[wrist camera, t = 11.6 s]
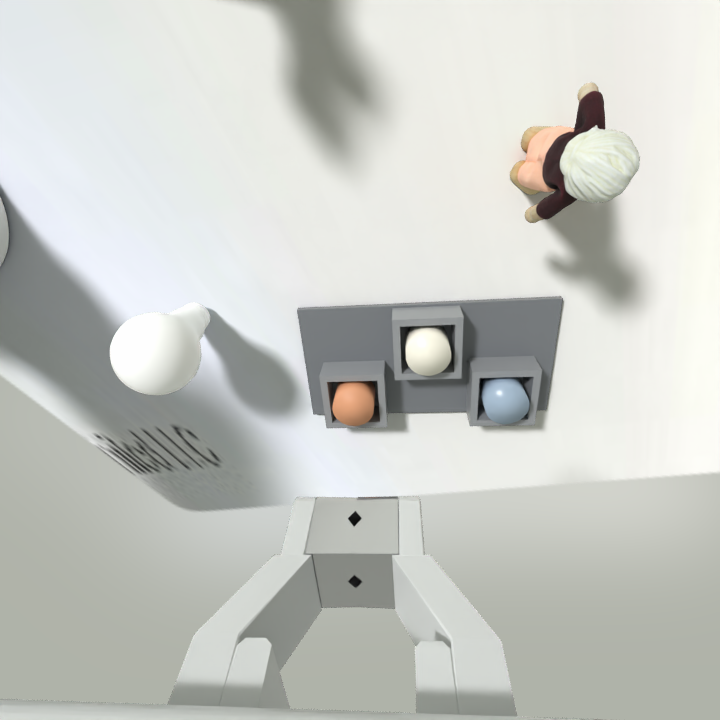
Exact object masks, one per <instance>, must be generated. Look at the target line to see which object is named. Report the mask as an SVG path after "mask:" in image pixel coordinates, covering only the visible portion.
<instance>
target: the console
mask: <svg viewBox="0 0 720 720" xmlns="http://www.w3.org/2000/svg"><path fill="white" fill-rule="evenodd" d="M562 301H563V298H562V297H561V296H559V297H536V298H514V299H491V300H468V301H446V302H423V303H401V304H378V305H355V306H333V307H310V308H298V310H297V312H298V319H299V325H300V332H301V338H302V344H303V351H304V357H305V364H306V370H307V376H308V383H309V389H310V396H311V402H312V408H313V414H325V420H326V427H327V428H373V427H387V417H388V413H418V412H467V416H468V420H469V425H470V426H509V425H535V419H536V411H537V410H546V408H547V401H548V394H549V388H550V381H551V374H552V367H553V361H554V354H555V347H556V341H557V334H558V327H559V321H560V314H561V307H562ZM431 325H441V326H442V327H443V328H444V329H445V331H446V333H447V336H448V341H449V345H450V350H451V361H450V363H449V365H448V366H447V368H446V369H445V370H443V371H442V372H440V373H438V374H436V375H432V376H424V375H420V374H417V373H415V372H414V371H413V370H411V369H410V367H409V366H408V364H407V361H406V347H405V338H406V334H407V332H408V330H409V329H410V328H411V327H412V326H431ZM500 377H518V378H519V380H520V382H521V384H522V386H523V388H524V390H525V393H526V395H527V397H528V399H529V404H530V405H529V410H528V412H527V414H526V415H525V416H524V417H523V418H522V419H520V420H519V421H517V422H514V423H511V424H500V423H496V422H494V421H492V420H491V419H490V418H489V417H488V416H487V414H486V411H485V408H484V405H483V401H482V398H481V394H480V389H479V388H480V383H481V381H482V380H483V378H500ZM346 381H372V383H373V384H374V387H375V402H374V412H373V416H372V418H371V419H370V420H369V421H368V422H367V423H365V424H363V425H360V426H349V425H346V424H343V423H341V422H340V421H339V420H338V419H337V418H336V417H335V416H334V413H333V410H332V407H333V402H334V397H335V393H336V389H337V385H338V383H339V382H346Z"/></svg>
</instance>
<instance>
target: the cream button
mask: <svg viewBox="0 0 720 720" xmlns="http://www.w3.org/2000/svg"><path fill="white" fill-rule="evenodd" d="M405 347H406V361H407V364H408V366H409V367H410V369H411V370H413V371H414V372H415V373H417V374H420V375H424V376H432V375H436V374H438V373H440V372H442V371H443V370H445V369H446V368H447V366H448V365H449V363H450V361H451V350H450V345H449V341H448V336H447V333H446V331H445V329H444V328H443V327H442V326H441V325H431V326H412V327H411V328H410V329H409V330H408V332H407V334H406V338H405Z"/></svg>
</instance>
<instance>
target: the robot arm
mask: <svg viewBox="0 0 720 720" xmlns="http://www.w3.org/2000/svg"><path fill="white" fill-rule="evenodd" d="M8 244H9V227H8V220H7V216H6V212H5V208H4V205H3V202H2V200H1V197H0V266H1V264H2V263H3V261H4V259H5V256H6V253H7V250H8ZM398 506H399V508H398ZM330 607H331V608H337V607H367V608H389V609H395V611H396V613H397V614H398V616H399V618H400V620H401V622H402V623H403V625H404V627H405V628H406V630H407V632H408V634H409V636H410V637H411V639H412V641H413V643H414V644H415V646H416V647H415V674H416V713H399V712H396V713H395V712H370V711H341V710H312V709H311V710H310V709H290V706H289V703H288V700H287V696H286V692H285V689H284V686H283V682H282V679H281V675H280V670H281V669H282V667H283V666H284V664H285V663H286V662H287V660H288V659H289V657H290V656H291V654H292V653H293V651H294V650H295V648H296V647H297V645H298V644H299V643H300V641H301V640H302V638H303V637H304V635H305V634H306V632H307V631H308V629H309V628H310V626H311V625H312V623H313V622H314V621H315V619H316V618H317V616H318V615H319V613H320V612H321V608H330ZM0 720H599V719H569V718H541V717H517V713H516V708H515V704H514V698H513V694H512V689H511V684H510V680H509V675H508V670H507V666H506V661H505V656H504V652H503V647H502V642H501V640H500V639H499V638H498V636H497V635H496V634H495V633H494V632H493V630H492V629H491V628H490V627H489V625H488V624H487V623H486V622H485V620H484V619H483V618H482V617H481V616H480V615H479V613H478V612H477V611H476V610H475V608H474V607H473V606H472V605H471V603H470V602H469V601H468V600H467V598H466V597H465V596H464V595H463V593H462V592H461V591H460V590H459V589H458V587H457V586H456V585H455V584H454V582H453V581H452V580H451V579H450V577H449V576H448V575H447V574H446V573H445V571H444V570H443V569H442V568H441V566H440V565H439V564H438V563H437V561H436V560H435V559H434V558H433V557H432V556H431V555H425V551H424V538H423V526H422V515H421V502H420V497H419V496H401V497H358V498H346V497H297V498H296V499H295V501H294V503H293V507H292V511H291V515H290V519H289V523H288V527H287V531H286V535H285V539H284V543H283V547H282V551H281V554H277V555H273V556H272V557H271V558H270V560H268V561H267V563H265V564H264V566H263V567H261V569H260V570H258V571H257V572H256V573H255V574H254V575H253V576H252V577H251V578H250V579H249V581H247V583H245V584H244V585H243V586H242V587H241V588H240V589H239V590H238V591H237V592H236V593H235V594H234V595H233V596H232V597H231V598H230V599H229V600H228V601H227V602H226V603H225V604H224V605H223V606H222V607H221V608H220V609H219V610H218V611H217V612H216V613H215V614H214V615H213V616H212V617H211V618H210V619H209V620H208V621H207V622H206V623H205V624H204V625H203V626H202V627H201V628H200V629H199V630H198V631H197V632H196V633H195V634H194V637H193V639H192V642H191V644H190V647H189V650H188V652H187V655H186V657H185V660H184V663H183V665H182V668H181V671H180V673H179V676H178V678H177V681H176V683H175V686H174V689H173V691H172V694H171V696H170V699H169V702H168V704H167V705H165V704H135V703H106V702H76V701H48V700H18V699H0Z"/></svg>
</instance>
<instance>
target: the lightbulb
mask: <svg viewBox="0 0 720 720" xmlns="http://www.w3.org/2000/svg"><path fill="white" fill-rule="evenodd" d="M209 322H210V314H209V312H208V310H207V309H206V308H205V307H204V306H203V305H201V304H198V303H188V304H187V305H185V306H183V307H182V308H180V309H176V310H174V311H172V312H171V313H169V314H167V313H158V312H152V313H145V314H141V315H138V316H135V317H133V318H131V319H129V320H128V321H127V322H125V323H124V324H123V325H122V326H121V327H120V328H119V329H118V331H117V332H116V334H115V335H114V337H113V340H112V343H111V346H110V360H111V365H112V367H113V370H114V372H115V373H116V375H117V377H118V378H119V379H120V380H121V382H123V383H124V384H125V385H126V386H127V387H129V388H130V389H132V390H134V391H137V392H140V393H143V394H147V395H165V394H170V393H172V392H175V391H177V390H179V389H181V388H182V387H184V386H185V385H186V384H188V383H189V382H190V381H191V380H192V378H193V377H194V376H195V374H196V373H197V370H198V368H199V365H200V361H201V347H200V342H199V341H200V339H201V338H202V336H203V334H204V330H205V329H206V327H207V326H208V324H209Z"/></svg>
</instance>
